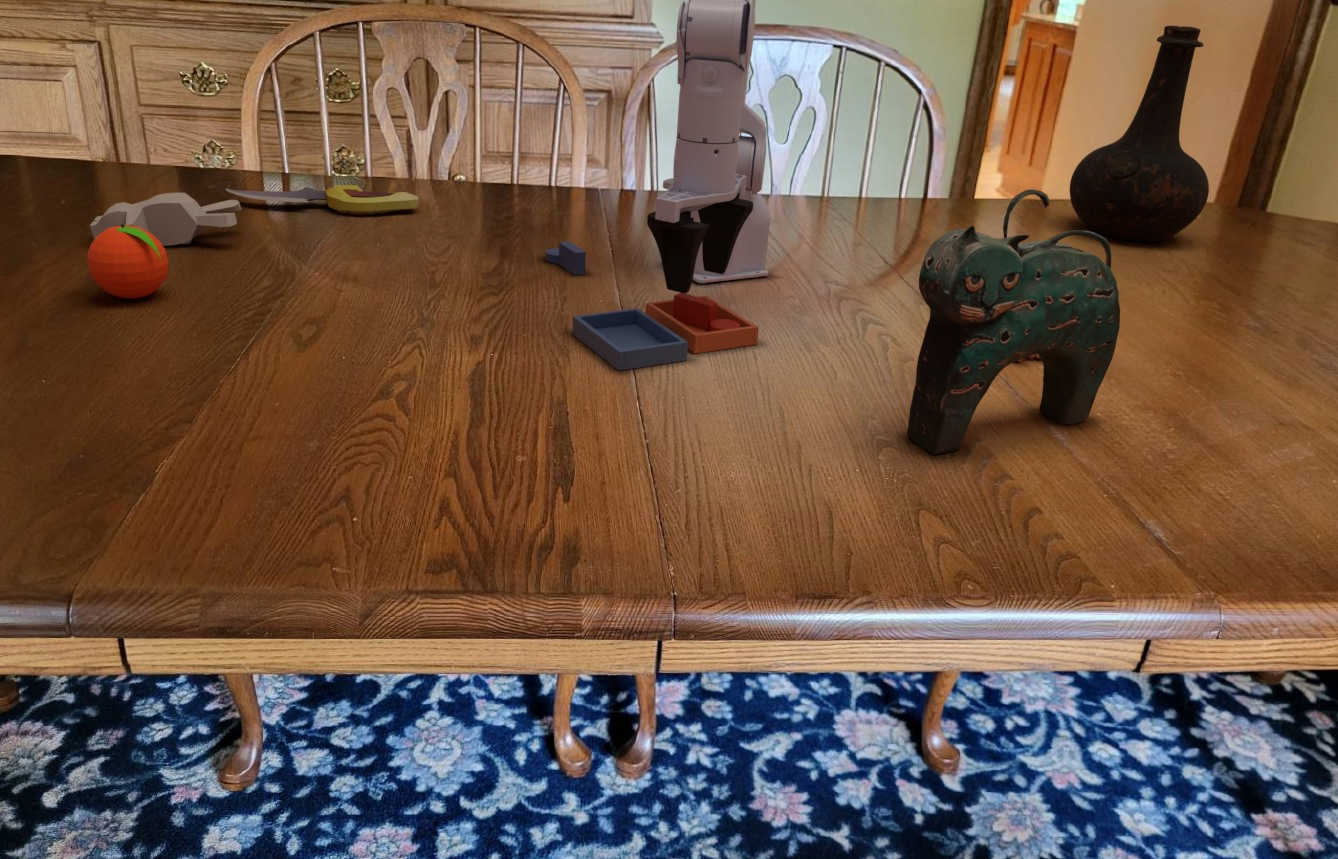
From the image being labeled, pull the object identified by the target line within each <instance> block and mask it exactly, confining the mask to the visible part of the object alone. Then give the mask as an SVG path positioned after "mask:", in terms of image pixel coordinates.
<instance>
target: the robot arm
mask: <svg viewBox="0 0 1338 859" xmlns="http://www.w3.org/2000/svg"><path fill="white" fill-rule="evenodd" d="M756 1H757V0H688V1H686V2H685V1H684V0H682V1H681V3H680V6H679V10H678V15H677V23H676V38H675V39H676V47H675V48H676V55H677V76H676V78H677V80H676V82H677V84H678V85H679V92H678V93H679V94H678V108H677V109H678V111H677V125H676V140H675V147H674V154H673V155H674V156H673V168H672V169H673V170H672V171H673V172H672V175H673V177H671V178H667V179H665V180H663V181H662V188H663V189H665V192H664V193H663V194H662V195H661V196H658V197H656V199H655V211H652V212H650V213H647V218H646V219H647V220H646V222H647V223H646V225H647V227H648V229H649V230H650V232H651V234H652V236H653V239H654V241H655V243H656V246H657V249H658V252H659V255H660V260H661V265H662V270H663V275H664V281H665V286H666V289H667V290H668V291H672V292H678V293H685V294H688V293H689V292H690V290H691V287H692V284H693V281H694V282H696V283H698V284H706V283H716V282H725V281H732V280H733V281H734V280H743V279H750V278H759V277H767V276H769V271H768V270H766V262H767V253H768V245H769V244H768V243H769V236H770V235H769V234H770V226H771V225H770V224H771V215H770V210H769V206H768V203H767V201H766V200H765V198H764V197H763V196H762V195H761V194H759V193H760V192H761V191H762V189H763V184H764V175H765V174H764V173H765V165H766V157H767V156H766V155H767V135H768V127H766V122H765V121H764V120H763V118H761V117H760V116H759V115H758V114H757V113H756V112H755V111H754V110H753V109H752V108H751V107H750V106H749V105H748V104H747V103H746V98H747V88H748V79H749V71H750V70H749V68H750V61H751V58H752V54H753V48H754V47H753V46H754V38H755V37H754V36H755V25H756V3H757V2H756ZM740 134H746V135H740ZM747 135H749V136H747Z"/></svg>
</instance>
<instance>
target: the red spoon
mask: <svg viewBox="0 0 1338 859" xmlns="http://www.w3.org/2000/svg"><path fill="white" fill-rule="evenodd" d="M673 300H674V306H673V318H675V319H676V320H678V321H679V322H682V323H685V324H688V325H691V326H694V327H698V328H701V329H704V330H707V331H709V332H712V331H719V330H726V329H734V328H741V325H740V323H738V322H736V321H734V320H729V319H716V315H717V303H715V302H712V301H709V300H705V299H702V298H699V296H696V295H692V294H689V293H680V292H678V293H676V294H674V295H673Z"/></svg>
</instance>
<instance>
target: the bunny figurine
mask: <svg viewBox="0 0 1338 859" xmlns="http://www.w3.org/2000/svg"><path fill="white" fill-rule="evenodd" d="M241 210H242V207H241V204H240V201H238V199H228V200H224V201H223V200H222V201H220V202H219V201H218V202H215V203H211V204H207V205H203V206H200V204H199V203H198V202H197V201H196V200H195V199H194V198H193V197H191V196H190V195H189V194H188V193H186V192H165V193H160V194H156V195H154V196H152V197H151V198H148V199H145V200H142V201H138V202H135V203H129V202H124V201H122V202H117V203H115V204H113V205H112V206H110V207H108V208H107V210H106V211H105V212H104V213H103V215H98V216H96V217H95V218H94V219H93V221H92V222H91V223H90V224H89V228H90V232H91V235H92V237H93V240H94V239H95V238H96V237H97V236H98V235H99V234H101V233H102V232H103V231H105V230H106V229H108V228H111V227H116V226H121V224H122V225H124V226H136V227H139V228H142V229H144V230H146V231H147V232H149V233H151V234H153V235H154V236H155V237H156V238H157V239H158V240H159V241H160V242H161V244H162V245H163V247H165V246H177V245H181V244H182V245H184V246H188V245H190V244H191V243H192V241H193V239H194V238H196V237H197V236H198V235H199V234H200V233H201V232H202V231H203V230H204V228H205V227H206V226H207V227H218V228H229V227H233V226H235V225H237V224H238V221H237V216H236V212H238V211H241Z"/></svg>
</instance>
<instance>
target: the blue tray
mask: <svg viewBox="0 0 1338 859" xmlns="http://www.w3.org/2000/svg"><path fill="white" fill-rule="evenodd" d="M572 335H573V336H575V337H576V338H577V339H578V340H580V341H581V342H582V343H583V344H585V345H586V346H587V347H588V348H590V349H591V350H592V351H593V352H595V354H597V355H598V356H600V357H601V358H602V359H603V360H604V361H606V362H607V363H608V364H609V365H611V366H612V367H613V368H614V369H615V370H617V371H618V372H620V371H625V370H626V371H627V370H632V369H638V368H647V367H652V366H653V367H654V366H658V365H667V364H671V363H678V362H685V361H686V362H687V361H688V342H687V341H685V340H684V339H683V338H681V337H680V336H678V335H677V334H675V333H674V332H672V331H671V330H669V329H668V328H666V327H665V326H663V325H662V324H660V323H659V322H657V321H656V320H655V319H653V318H652V317H650V316H649V315H647V314H646V312H644V311H643V310H641V309H640V308H637V307H636V308H629V309H621V310H612V311H605V312H595V313H589V314H580V315H573V316H572Z"/></svg>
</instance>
